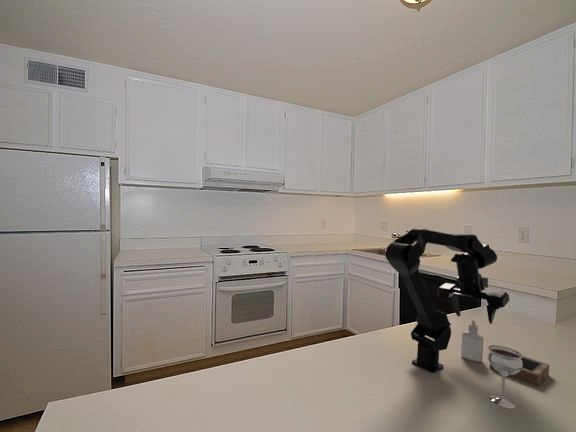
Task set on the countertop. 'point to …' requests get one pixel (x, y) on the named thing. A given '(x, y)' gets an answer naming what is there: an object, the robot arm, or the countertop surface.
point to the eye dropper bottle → (472, 344)
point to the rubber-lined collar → (531, 371)
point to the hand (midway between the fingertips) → (474, 319)
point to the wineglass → (504, 369)
